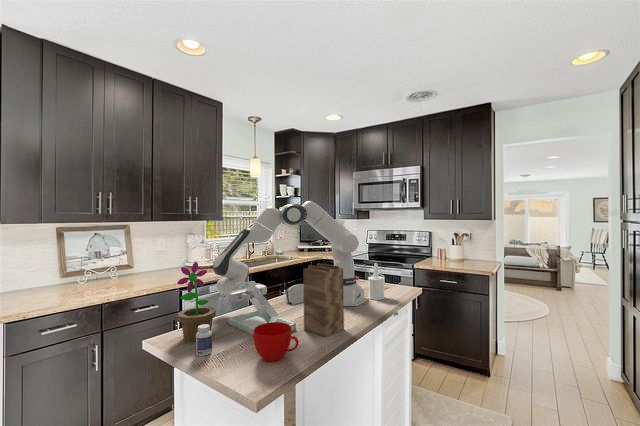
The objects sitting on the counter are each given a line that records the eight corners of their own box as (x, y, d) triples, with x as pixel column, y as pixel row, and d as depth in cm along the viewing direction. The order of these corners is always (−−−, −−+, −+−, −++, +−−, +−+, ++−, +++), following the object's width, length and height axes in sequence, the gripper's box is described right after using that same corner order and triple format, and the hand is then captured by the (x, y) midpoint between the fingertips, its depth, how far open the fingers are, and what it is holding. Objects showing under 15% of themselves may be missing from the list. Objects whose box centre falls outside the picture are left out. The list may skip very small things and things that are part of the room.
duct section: (252, 291, 145) (254, 284, 144) (275, 322, 133) (278, 315, 132) (244, 293, 142) (247, 286, 141) (268, 324, 130) (271, 317, 129)
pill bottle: (214, 352, 113) (214, 325, 113) (200, 358, 109) (200, 330, 109) (207, 348, 116) (207, 322, 116) (193, 353, 112) (193, 326, 112)
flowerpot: (206, 327, 137) (205, 259, 137) (222, 336, 127) (221, 262, 127) (172, 337, 127) (171, 263, 127) (186, 348, 117) (185, 267, 117)
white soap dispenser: (374, 301, 174) (374, 265, 174) (364, 297, 182) (364, 262, 182) (389, 298, 179) (389, 263, 179) (379, 294, 188) (378, 261, 187)
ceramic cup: (286, 373, 98) (286, 341, 98) (245, 361, 106) (245, 331, 106) (308, 356, 109) (308, 327, 109) (269, 346, 117) (269, 319, 117)
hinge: (292, 304, 169) (287, 286, 172) (286, 306, 173) (282, 287, 175) (314, 298, 181) (310, 281, 183) (309, 299, 184) (305, 282, 187)
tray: (257, 315, 153) (257, 309, 153) (295, 329, 134) (295, 323, 134) (227, 323, 141) (227, 318, 141) (265, 341, 122) (265, 334, 122)
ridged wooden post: (323, 322, 142) (322, 262, 142) (343, 328, 134) (343, 265, 133) (304, 329, 133) (303, 266, 133) (324, 337, 125) (323, 269, 125)
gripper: (218, 288, 142) (235, 293, 132) (256, 280, 156) (273, 284, 147) (218, 301, 142) (235, 308, 132) (256, 293, 156) (273, 298, 147)
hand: (255, 295), depth 140 cm, fingers closed on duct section, 4 cm apart
